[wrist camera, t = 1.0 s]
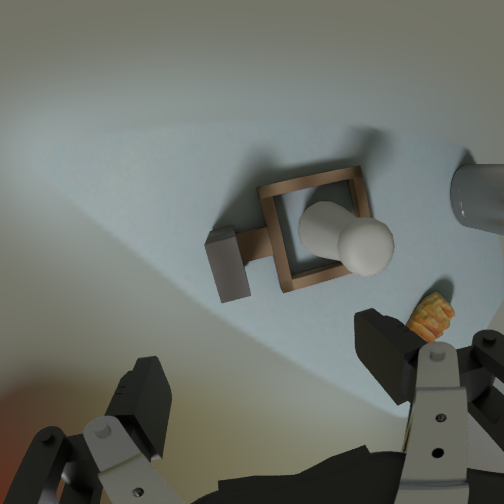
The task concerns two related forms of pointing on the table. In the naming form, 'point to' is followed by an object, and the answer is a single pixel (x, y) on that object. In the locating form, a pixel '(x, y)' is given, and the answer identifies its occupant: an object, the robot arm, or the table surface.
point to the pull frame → (275, 239)
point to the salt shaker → (346, 238)
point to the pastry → (431, 317)
